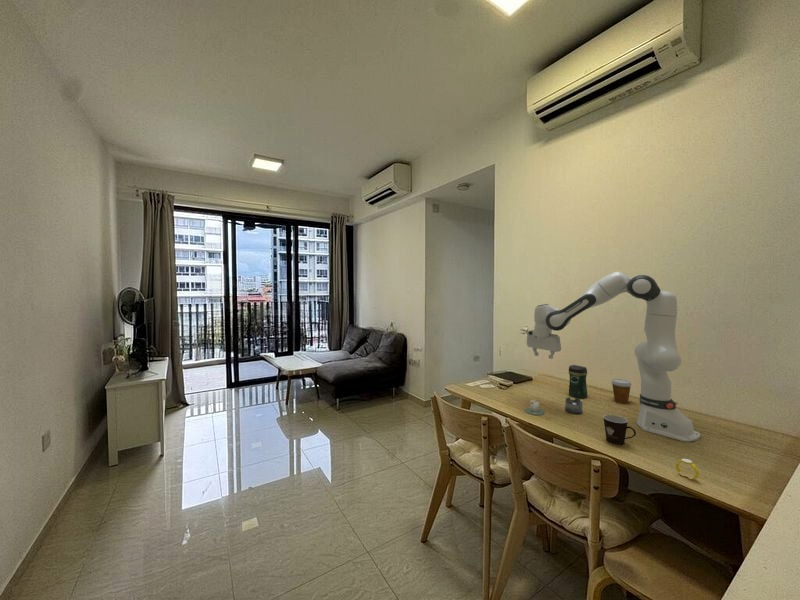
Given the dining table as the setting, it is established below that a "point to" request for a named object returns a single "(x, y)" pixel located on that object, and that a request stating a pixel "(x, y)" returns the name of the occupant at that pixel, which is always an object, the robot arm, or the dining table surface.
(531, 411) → the coaster
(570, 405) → the blue-gray holder
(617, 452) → the dining table surface
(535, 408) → the cap
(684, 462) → the watch
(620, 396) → the disposable coffee cup
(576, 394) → the coffee jar
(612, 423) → the coffee mug
